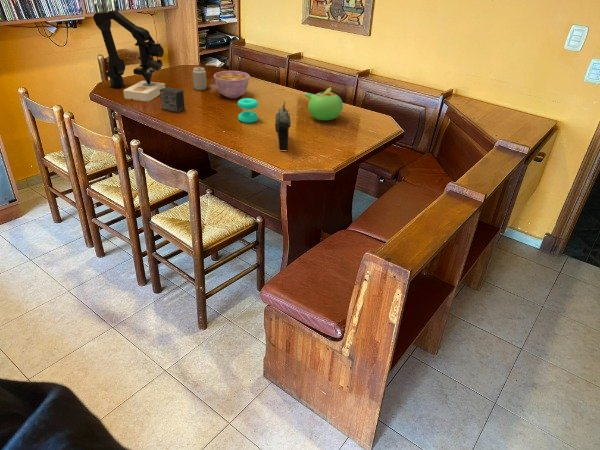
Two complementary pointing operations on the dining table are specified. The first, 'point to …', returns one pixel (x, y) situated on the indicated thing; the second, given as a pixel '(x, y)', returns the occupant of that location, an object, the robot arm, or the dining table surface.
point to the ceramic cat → (283, 127)
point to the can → (199, 78)
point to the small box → (172, 99)
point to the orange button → (139, 89)
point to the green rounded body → (324, 105)
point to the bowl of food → (231, 83)
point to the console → (143, 95)
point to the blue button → (149, 84)
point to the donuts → (248, 105)
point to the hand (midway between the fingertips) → (149, 83)
